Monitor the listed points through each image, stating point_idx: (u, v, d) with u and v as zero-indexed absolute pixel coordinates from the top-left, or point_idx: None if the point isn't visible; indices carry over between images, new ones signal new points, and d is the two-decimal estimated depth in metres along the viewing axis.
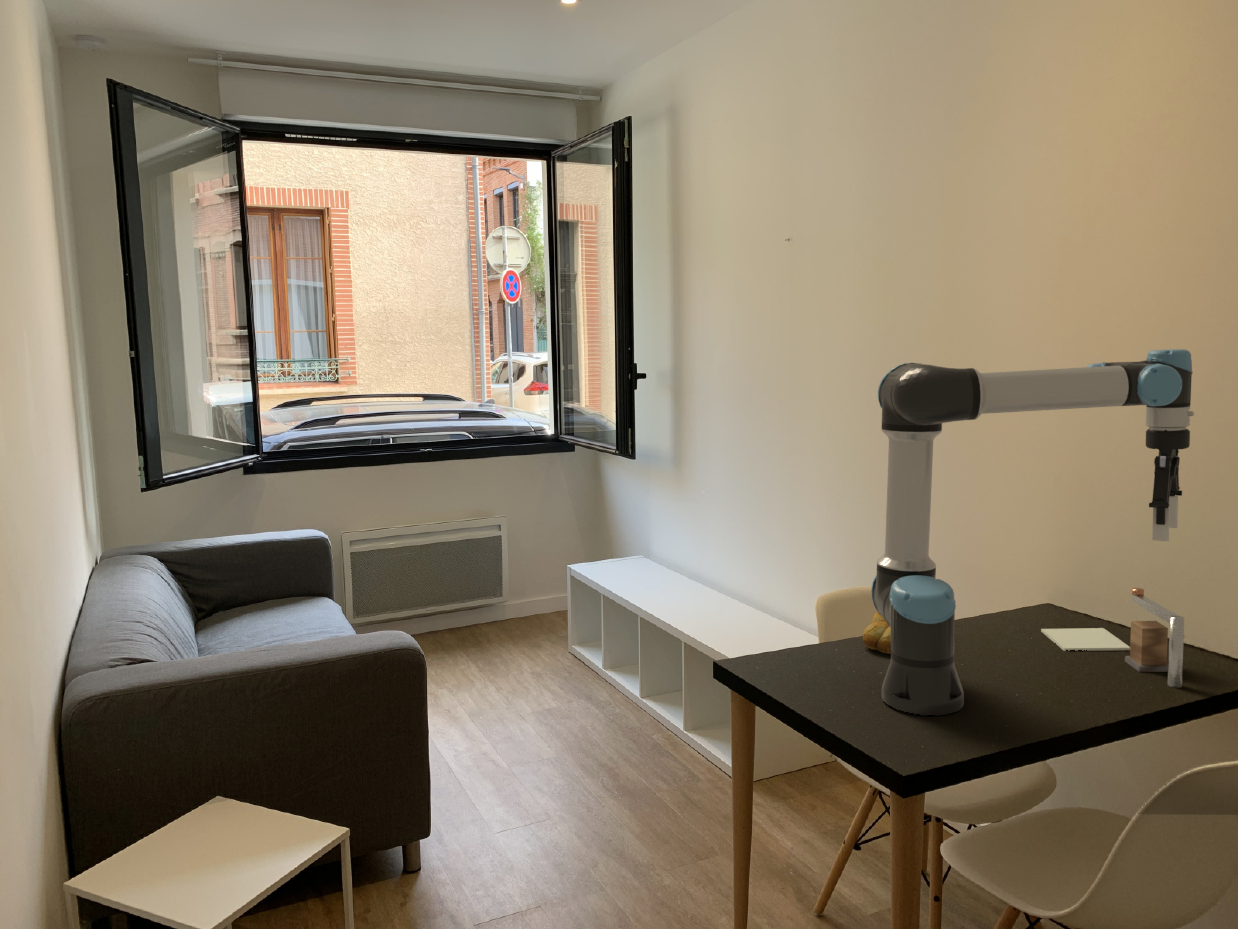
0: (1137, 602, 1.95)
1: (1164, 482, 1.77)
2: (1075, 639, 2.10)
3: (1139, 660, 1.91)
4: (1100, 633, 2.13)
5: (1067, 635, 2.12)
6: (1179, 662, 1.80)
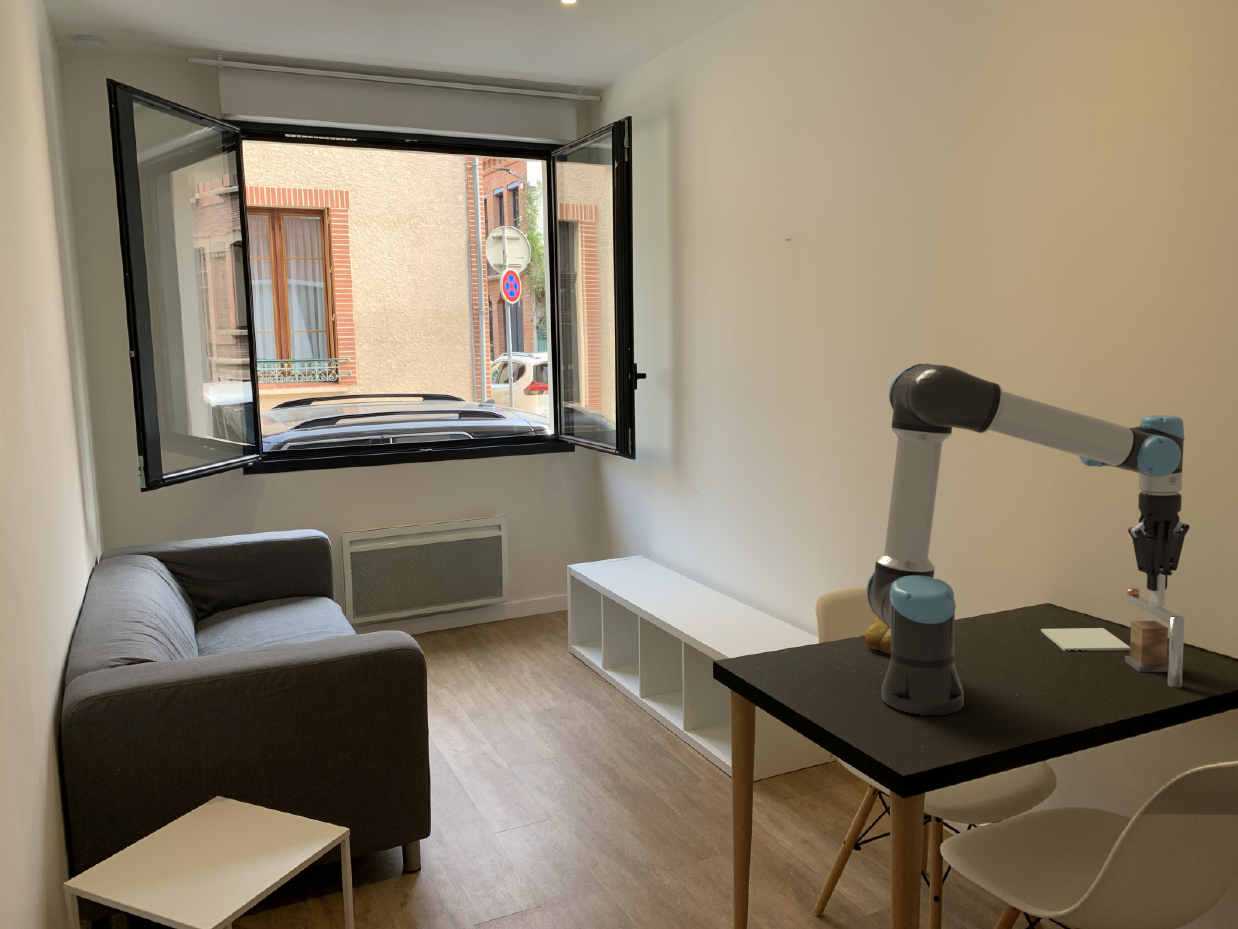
0: (1133, 602, 1.95)
1: (1141, 553, 1.88)
2: (1075, 639, 2.10)
3: (1139, 660, 1.91)
4: (1100, 633, 2.13)
5: (1067, 635, 2.12)
6: (1179, 662, 1.80)
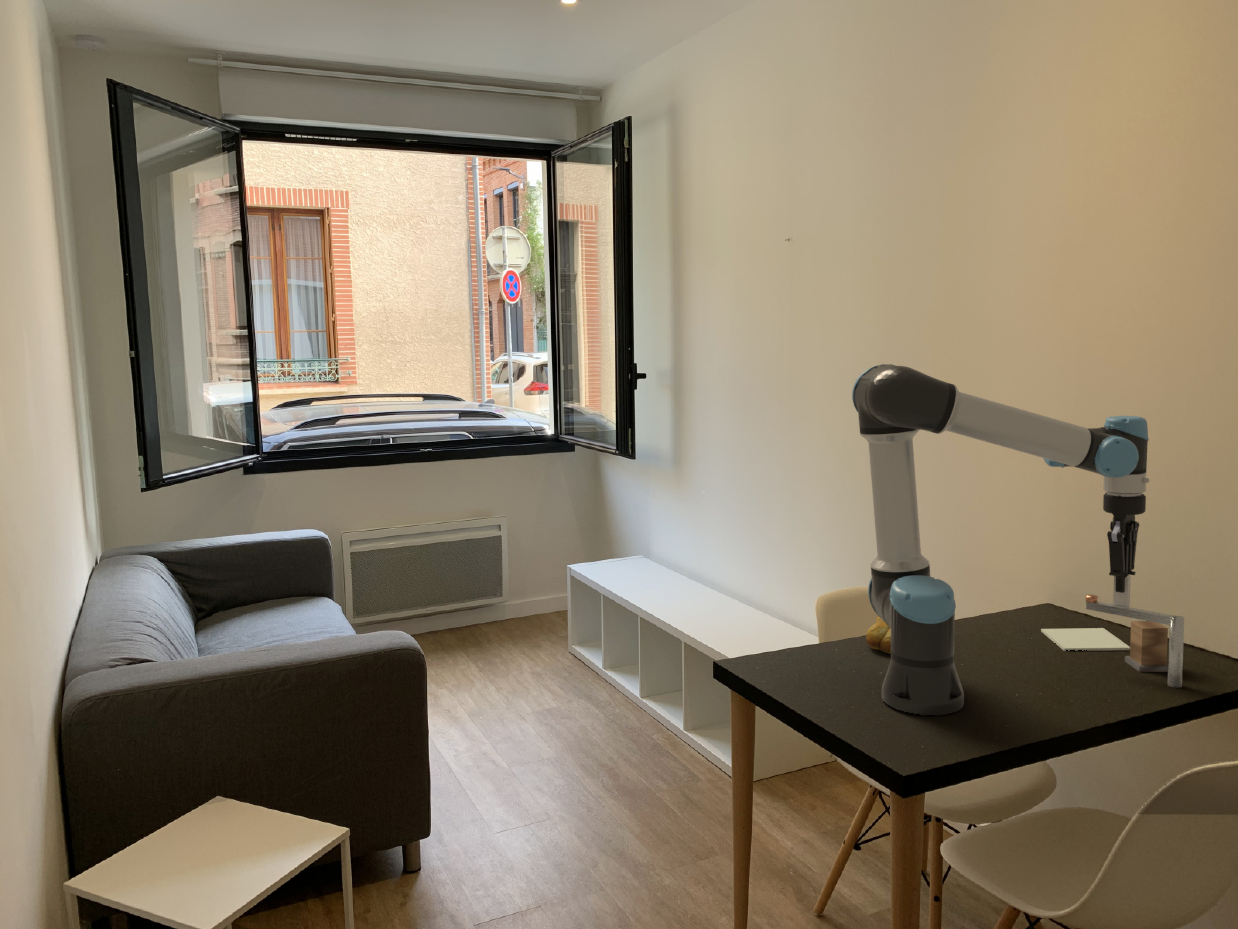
0: (1097, 609, 1.91)
1: (1119, 556, 1.85)
2: (1075, 639, 2.10)
3: (1139, 660, 1.91)
4: (1100, 633, 2.13)
5: (1067, 635, 2.12)
6: (1182, 661, 1.81)
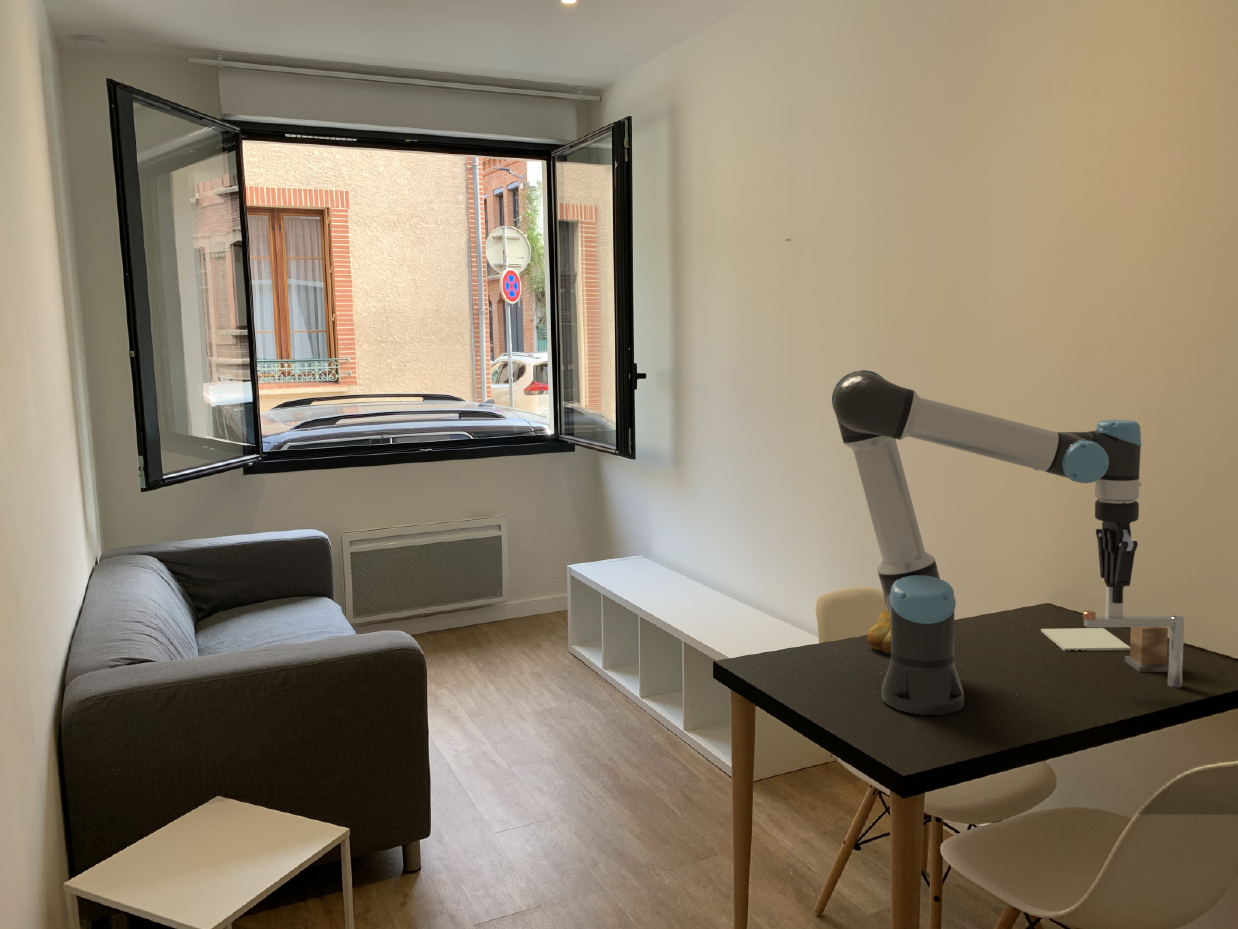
0: (1099, 625, 1.81)
1: (1129, 565, 1.77)
2: (1075, 639, 2.10)
3: (1139, 660, 1.91)
4: (1100, 633, 2.13)
5: (1067, 635, 2.12)
6: None
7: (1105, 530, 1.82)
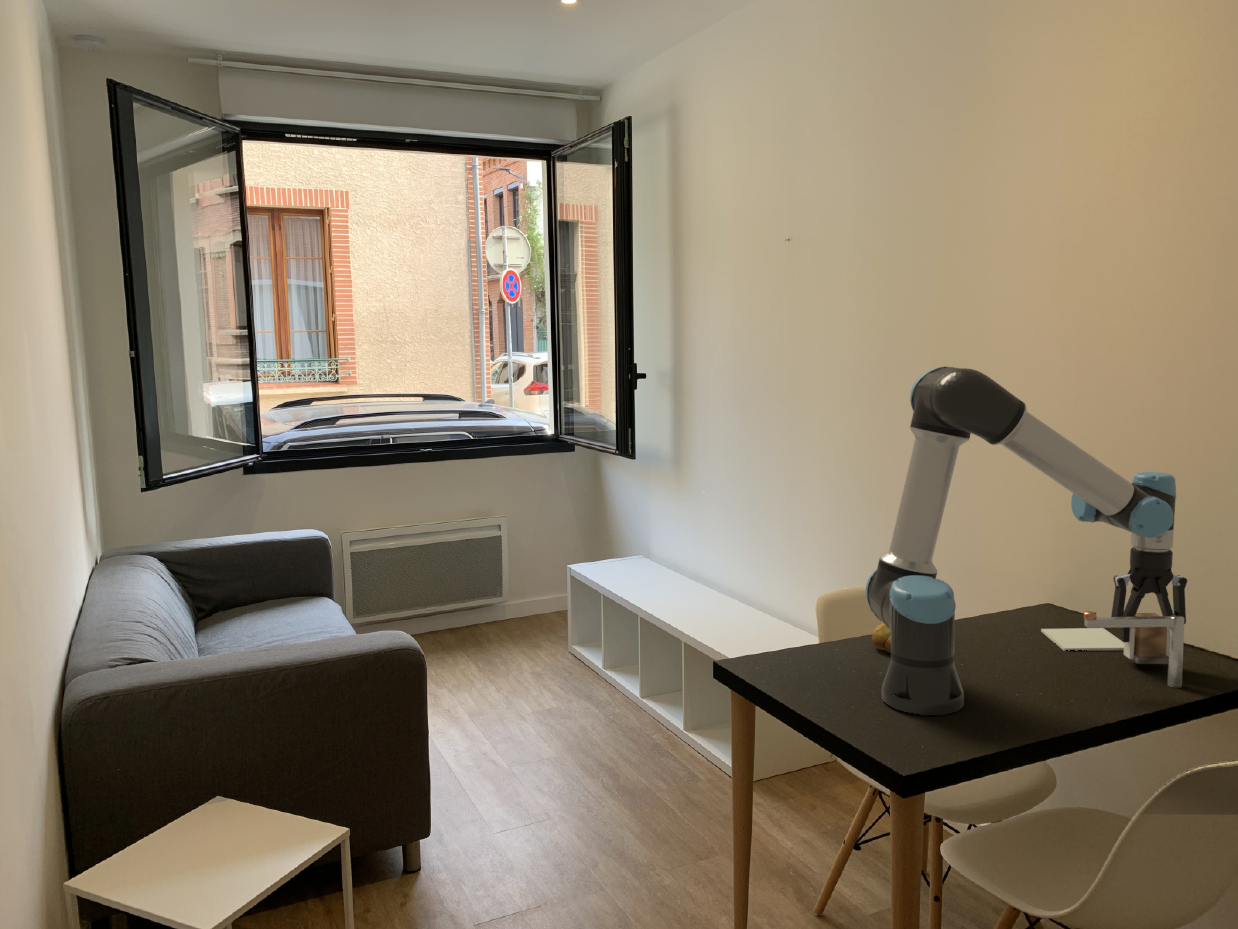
0: (1100, 625, 1.81)
1: (1117, 602, 1.91)
2: (1075, 639, 2.10)
3: (1138, 652, 1.91)
4: (1100, 633, 2.13)
5: (1067, 635, 2.12)
6: None
7: None
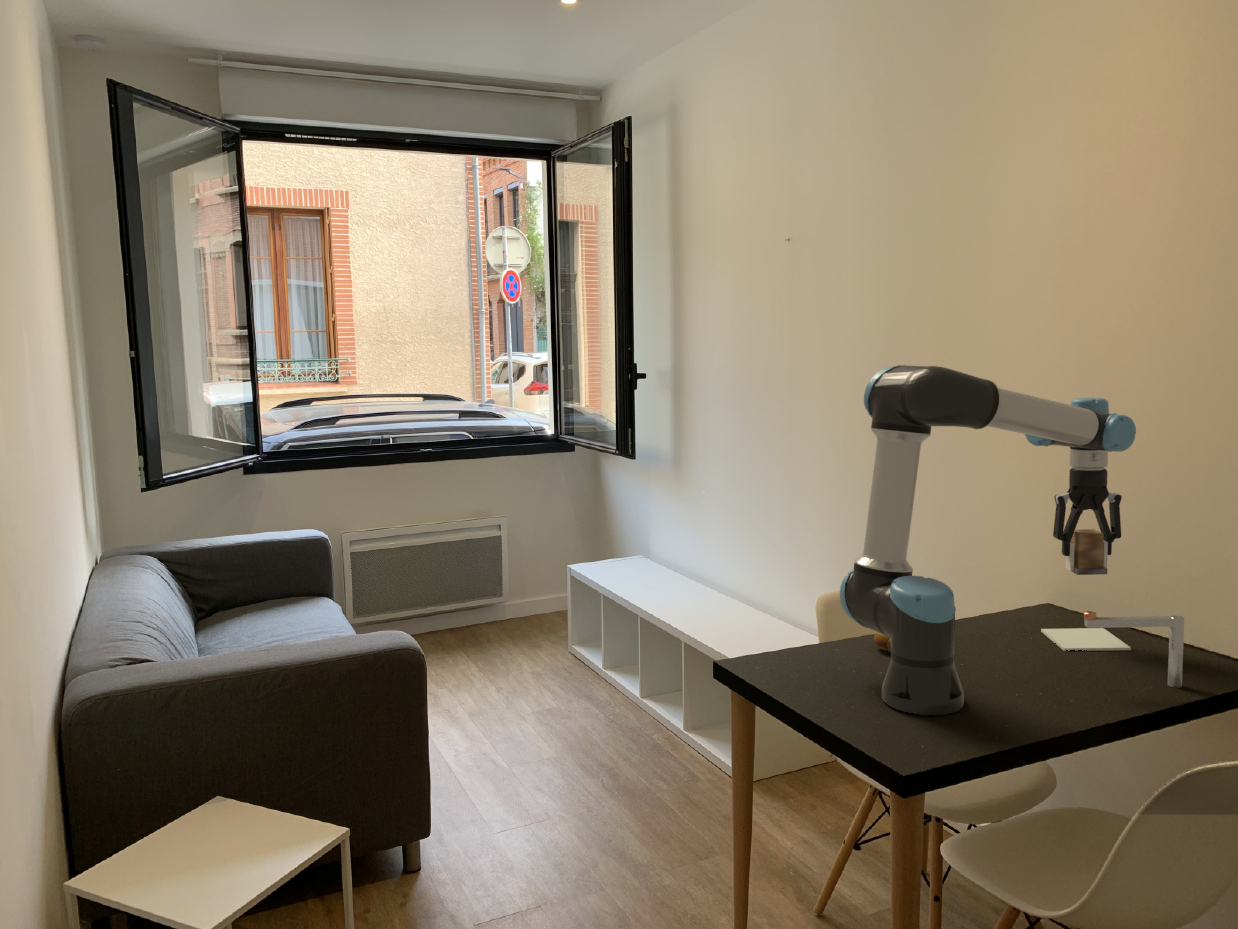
0: (1100, 625, 1.81)
1: (1058, 518, 2.07)
2: (1075, 639, 2.10)
3: (1078, 564, 2.07)
4: (1100, 633, 2.13)
5: (1067, 635, 2.12)
6: None
7: None
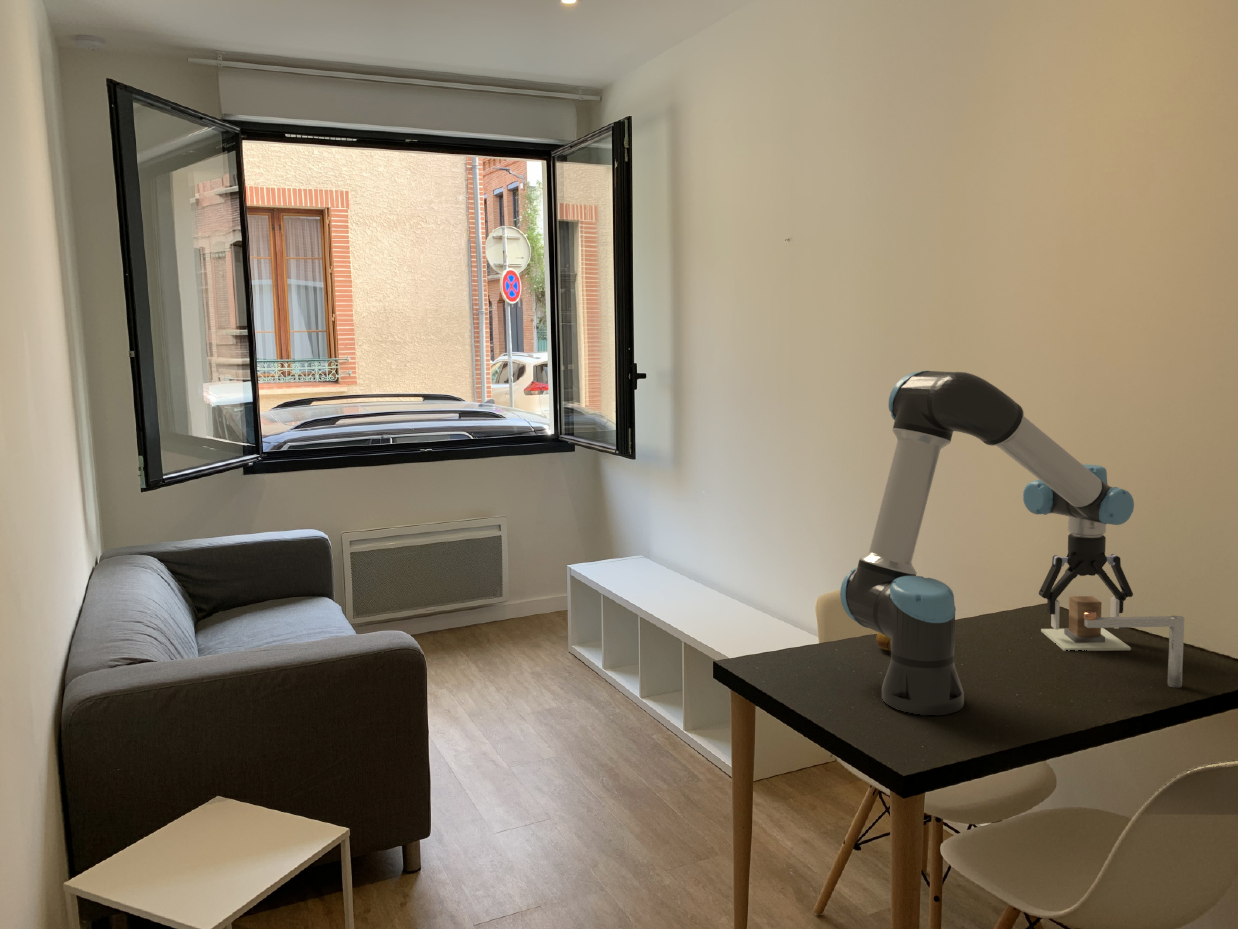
0: (1100, 625, 1.81)
1: (1049, 578, 2.09)
2: None
3: (1076, 632, 2.09)
4: None
5: None
6: None
7: None
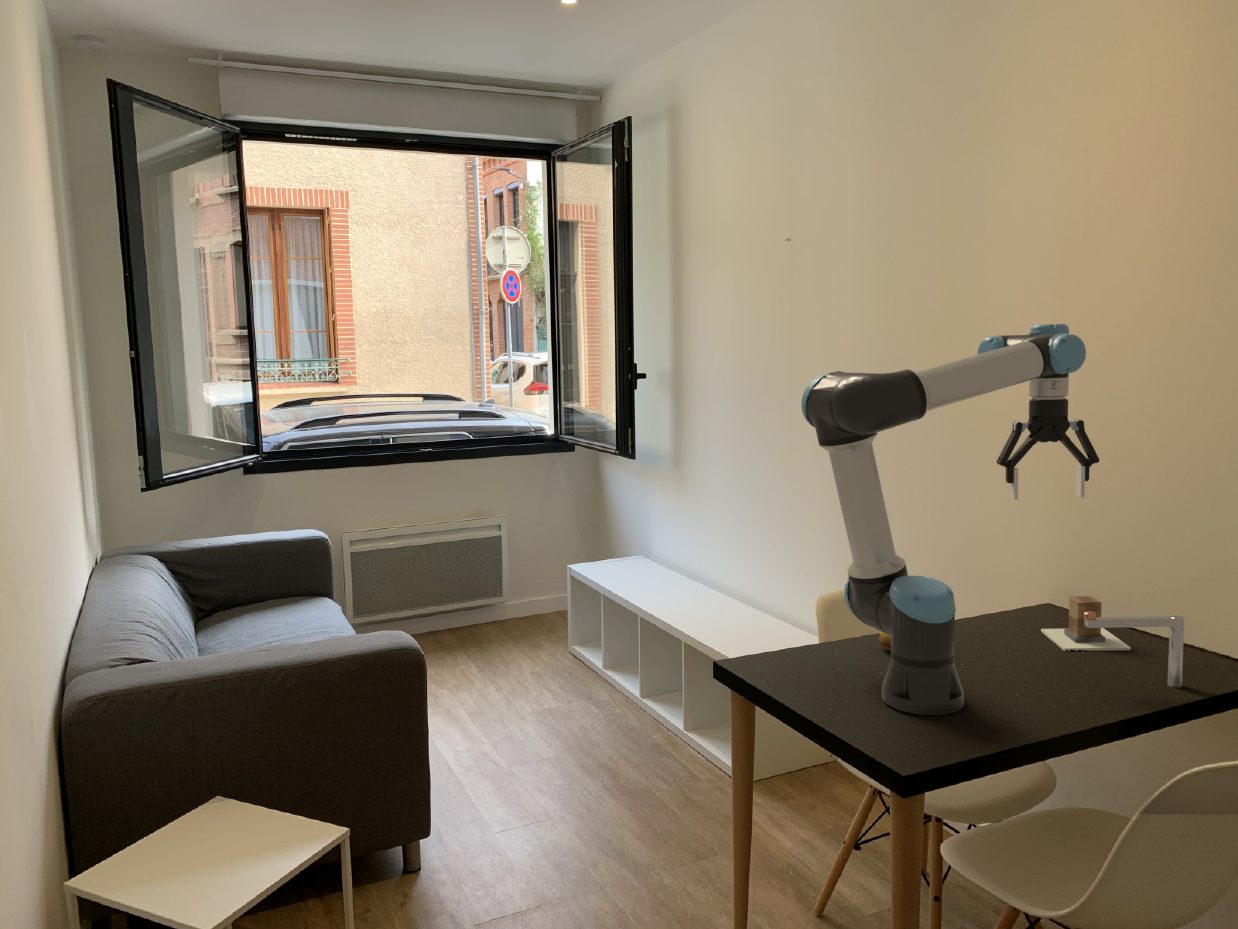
0: (1100, 625, 1.81)
1: (1008, 444, 1.97)
2: None
3: (1076, 632, 2.09)
4: None
5: None
6: None
7: None
